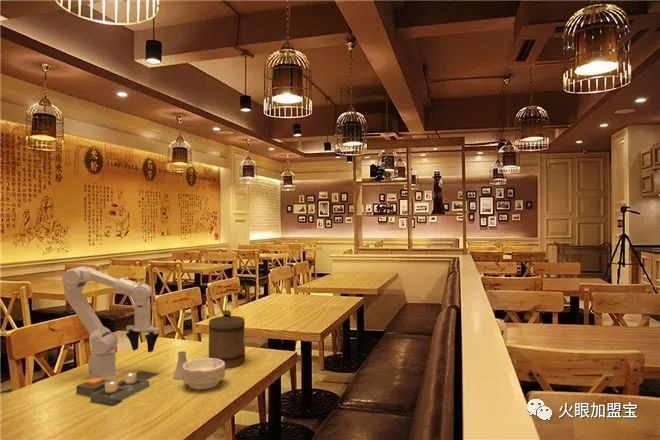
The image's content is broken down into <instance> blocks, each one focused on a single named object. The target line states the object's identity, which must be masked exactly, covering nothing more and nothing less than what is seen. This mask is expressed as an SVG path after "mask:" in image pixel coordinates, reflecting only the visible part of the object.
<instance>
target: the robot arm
mask: <svg viewBox="0 0 660 440" xmlns="http://www.w3.org/2000/svg"><path fill="white" fill-rule="evenodd" d="M61 281H62V283H63V290H64V291H63V292H64V297H65V299H66V300H67V301H68V303H69V305H70V306H71V308H72V309H73V311H74V312H75V314H76V315H77V317H78V318H79V320H80V322H81V323H82V325H83V326H84V328H85V329H86V331H87V332H88V334H89V337H88V338H89V340H88V341H89V343H90V345H91V351H92V353H90V355H89V357H88V363H87V365H88V366H87V367H88V375H86V377H88V378H100V379H107V380H108V378H110V377H113V376H116V375H118V374H121V371H116V369H117V367H116V365H117V364H116V346H117V345H118V343H119V340H118V336H117V335H116V334H115V333H113V332H112V331H111V330H110V329H109V328H108V327H106V326H104V325H103V323H102V321H101V320H100V318H99V317H98V315H97V314H96V313H95V311H94V309H93V307H92V306H91V305H90V303H89V301H88V300H87V298H86V297H85V295H84V294H83V291H84V288H85V285H86V284H87V283H88V282H97V283H99V284H103V285H106V286H109V287H112V288H113V289H114V291H115V292H116V293H119V294H122V295H124V296H128V297H131V298H132V299H133V300H134V301H133V302H134V306H133V307H134V324H131V325H130V324H129V325H127V326H126V333H125V335H126V337H127V338H128V340H129V342H130V345H131V350H132V351H137V350H139V341H140V340H139V339H140V334H141V333H145V335H144V338H145V340H146V345H147V352H148V353H152V352H154V349H155V345H156V342H157V340H158V337H159V336H160V327H155V326H152V325H151V295H152V293H153V289H152V287H151V286H150V285H149V284H147V283H142V284H141V282H139V281H137V282H136V281H134V280H130V277H127V276H125V277H119V278H116V277H114V276H111V275H109V274H106V273H104V272H101V271H99V270H97V269H94V267H88V266H85V265H81V266H77V267H74V268H68V269H67V270H66V271H65V272H64V274H63V276H62V278H61ZM146 333H147V334H146Z"/></svg>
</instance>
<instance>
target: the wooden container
mask: <svg viewBox="0 0 660 440" xmlns="http://www.w3.org/2000/svg"><path fill="white" fill-rule="evenodd" d="M222 315H223V316H217V317H214V318H211V319H209V321H208V358H216V359H220V360H222V361H224V362H225V369H232V368H237V367H240V366H242V365H244V363H246V343H245V342H246V341H245V337H246V336H245V325H246V324H245V318H244V317H242V316H239V315H237V316H236V315H232V312H231V311H230V310H229V309H227V310H223V312H222Z"/></svg>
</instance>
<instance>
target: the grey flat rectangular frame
mask: <svg viewBox="0 0 660 440" xmlns="http://www.w3.org/2000/svg"><path fill="white" fill-rule="evenodd" d="M149 387H150V380H139V379H136V385H134V386H132V387H124V378H123V379H121V380H118V393H117V394H115V395H113V396H107V395H105V388H103V389H101V390H99V391H96V392H94V393H92V394H91V397H90V402H92V403H97V404H103V405H107V406H111V407H112V406H116V405H118V404H120V403H121V402H123V400H124V399H125V400H126V399H127V398H129V397H131V396H133V395H135V394H137V393H138V392H141V391H144V390H146V389H147V388H149Z"/></svg>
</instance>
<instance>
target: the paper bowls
mask: <svg viewBox="0 0 660 440" xmlns="http://www.w3.org/2000/svg"><path fill="white" fill-rule="evenodd" d="M225 376H226V368H225V362H224V361H222V360H220V359H216V358H209V357H203V358H202V357H201V358H196V359H195V358H194V359H191V360H188V361H187V362H186V363H184V364H183V366H182V380H181V381H183V382H184V383H186V384H187V386H188V387H190V389H193V390H199V391H200V390H202V391H203V390H209V389H213V388H214V387H216V386H217V385H218V384H219V383H220V381H222V380H224V378H225Z"/></svg>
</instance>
